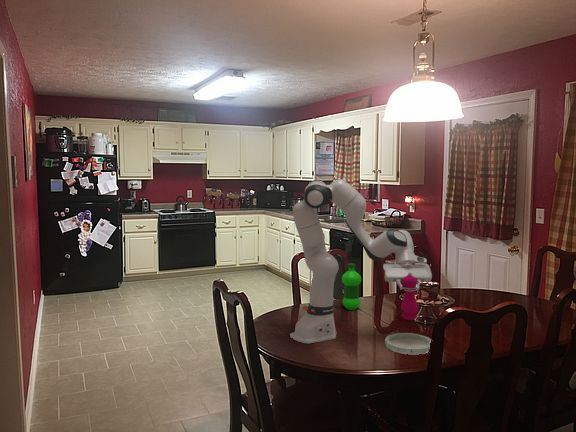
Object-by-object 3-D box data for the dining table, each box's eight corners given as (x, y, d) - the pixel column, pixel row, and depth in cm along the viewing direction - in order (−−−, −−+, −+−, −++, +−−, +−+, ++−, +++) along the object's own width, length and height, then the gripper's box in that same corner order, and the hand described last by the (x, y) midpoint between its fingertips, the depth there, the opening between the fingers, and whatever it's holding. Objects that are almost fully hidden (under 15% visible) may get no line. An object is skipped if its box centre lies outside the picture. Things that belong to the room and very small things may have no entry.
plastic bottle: (349, 305, 276) (349, 261, 274) (364, 308, 269) (364, 264, 267) (338, 308, 269) (338, 264, 267) (353, 312, 262) (353, 266, 259)
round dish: (412, 358, 197) (412, 352, 197) (375, 344, 213) (375, 339, 213) (442, 347, 209) (442, 342, 209) (405, 335, 225) (405, 330, 225)
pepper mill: (408, 321, 205) (409, 274, 203) (397, 316, 212) (397, 271, 210) (421, 318, 208) (422, 272, 206) (410, 314, 215) (410, 269, 213)
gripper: (383, 258, 216) (386, 285, 207) (430, 258, 215) (434, 285, 206) (381, 266, 221) (384, 292, 212) (427, 266, 220) (432, 293, 211)
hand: (409, 289), depth 209 cm, fingers closed on pepper mill, 5 cm apart
